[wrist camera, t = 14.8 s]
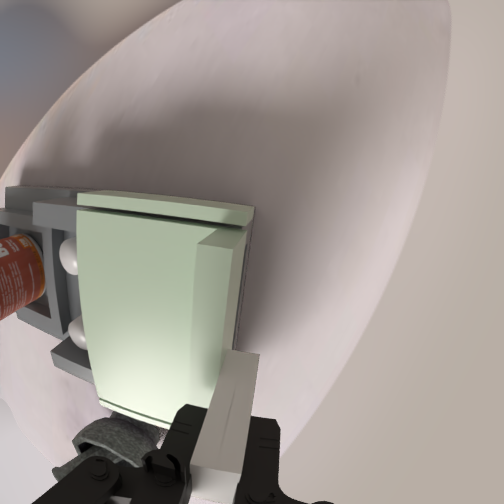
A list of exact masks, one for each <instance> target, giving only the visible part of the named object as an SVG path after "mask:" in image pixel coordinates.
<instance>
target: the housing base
mask: <svg viewBox="0 0 504 504" xmlns="http://www.w3.org/2000/svg"><path fill="white" fill-rule="evenodd" d="M93 191H103V190H94V189H80V188H63V187H43V186H11V187H6V188H5V208H0V240H1V239H4V238H7V237H10V236H14V235H17V234H27V235H29V236H31V237H32V238H33V239H34V240H35V241H36V242H37V244H38V245H39V247H40V249H41V251H42V253H43V257H44V269H45V279H46V290H45V292H44V293H43V295H42V296H41V297H39V298H38V299H36V300H34V301H33V302H31V303H29V304H27V305H26V306H24V307H22V308H20V309H19V310H17V311H15V312H16V313H17V317H18V319H20V320H22V321H24V322H26V323H28V324H30V325H32V326H34V327H36V328H38V329H40V330H42V331H44V332H46V333H48V334H50V335H52V336H54V337H56V338H59V339H61V340H63V341H62V342H61V343H60V344H59V345H57V346H56V347H55V348H54V349H53V350H51V351H50V352H51V356H52V359H53V363H54V366H56V367H58V368H60V369H62V370H64V371H66V372H68V373H70V374H72V375H74V376H76V377H78V378H80V379H83V380H85V381H87V382H89V383H92V384H94V385H95V382H94V378H93V373H92V369H91V364H90V360H89V355H88V349H87V344H86V338H85V332H84V326H83V318H82V311H81V302H80V293H79V281H78V267H77V237H76V223H77V210H80V209H94V210H103V211H111V212H119V213H127V214H135V215H143V216H150V217H158V218H165V219H173V220H180V221H187V222H194V223H201V224H208V225H215V226H222V227H229V228H236V229H242V230H247V235H246V243H245V250H244V258H243V265H242V273H241V280H240V288H239V296H238V303H237V311H236V319H235V327H234V335H233V342H232V350H236V343H237V336H238V328H239V321H240V314H241V306H242V299H243V291H244V284H245V277H246V270H247V262H248V255H249V248H250V240H251V233H252V226H253V219H254V214H253V218H252V220H251V221H250V222H249V223H248V224H247V226H241V225H234V224H227V223H220V222H213V221H206V220H199V219H191V218H184V217H177V216H169V215H161V214H154V213H146V212H138V211H129V210H121V209H113V208H104V207H95V206H86V205H77V193H83V192H93ZM254 212H255V207H254Z"/></svg>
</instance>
